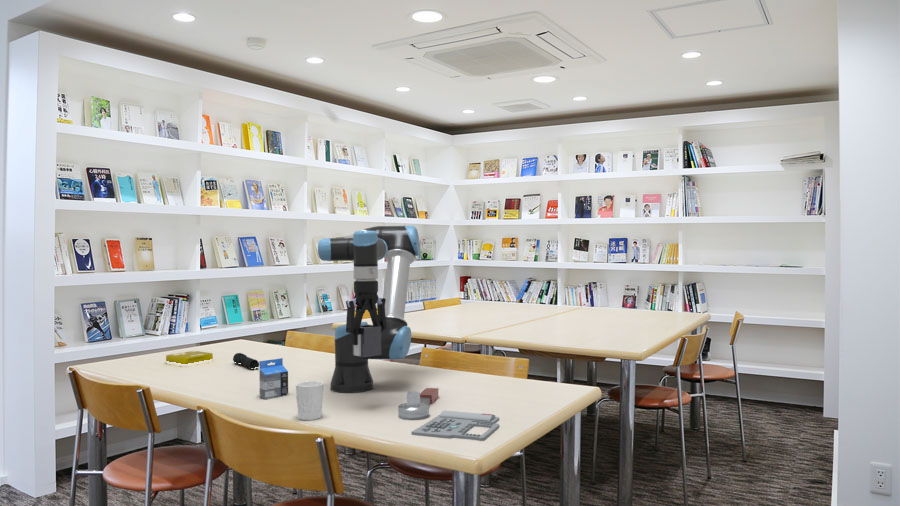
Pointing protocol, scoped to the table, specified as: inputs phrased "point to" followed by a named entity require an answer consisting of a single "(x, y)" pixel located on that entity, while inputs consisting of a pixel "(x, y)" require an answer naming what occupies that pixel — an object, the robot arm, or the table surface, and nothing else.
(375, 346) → the dark grey storage bin
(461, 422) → the office telephone
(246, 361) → the flashlight
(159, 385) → the table surface
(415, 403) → the grey and red tool
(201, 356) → the element tile
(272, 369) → the label tape cartridge
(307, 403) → the white cup
